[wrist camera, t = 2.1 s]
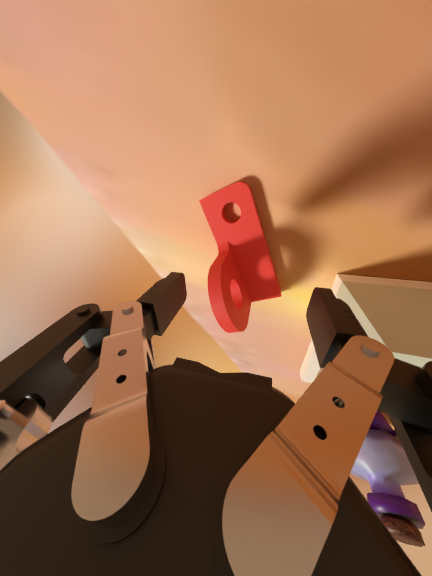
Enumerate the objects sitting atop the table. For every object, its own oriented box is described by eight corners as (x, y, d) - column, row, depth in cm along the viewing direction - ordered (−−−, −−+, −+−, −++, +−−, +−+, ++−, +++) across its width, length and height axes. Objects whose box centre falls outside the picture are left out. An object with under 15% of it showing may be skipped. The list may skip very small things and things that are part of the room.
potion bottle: (403, 421, 26) (485, 572, 16) (340, 425, 30) (373, 545, 20) (377, 387, 24) (452, 536, 14) (313, 397, 28) (335, 515, 18)
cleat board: (532, 291, 14) (852, 429, 6) (417, 395, 23) (493, 510, 15) (336, 273, 17) (390, 351, 10) (299, 371, 26) (312, 454, 18)
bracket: (280, 290, 20) (285, 344, 14) (243, 298, 22) (231, 349, 15) (247, 177, 15) (230, 176, 9) (203, 199, 17) (161, 212, 11)
